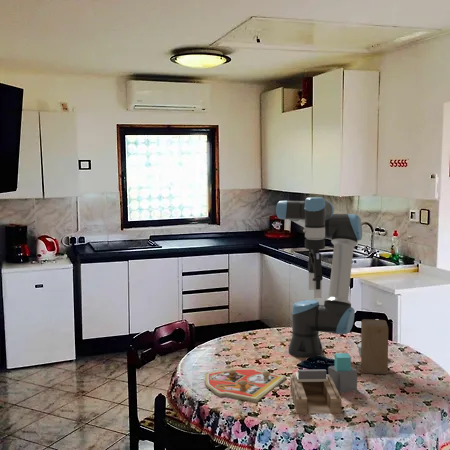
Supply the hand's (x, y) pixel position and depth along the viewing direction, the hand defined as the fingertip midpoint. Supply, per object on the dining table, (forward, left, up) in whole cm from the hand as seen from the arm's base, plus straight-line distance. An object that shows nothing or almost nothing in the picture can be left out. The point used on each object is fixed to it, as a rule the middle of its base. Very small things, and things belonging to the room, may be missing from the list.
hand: (314, 293), depth 211 cm
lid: (+9, -7, -29) cm, 31 cm away
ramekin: (-12, +37, -35) cm, 52 cm away
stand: (+11, +5, -35) cm, 37 cm away
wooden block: (+1, +28, -35) cm, 45 cm away
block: (+11, +5, -27) cm, 29 cm away
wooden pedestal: (+17, -11, -35) cm, 40 cm away
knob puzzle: (-12, -27, -36) cm, 46 cm away
